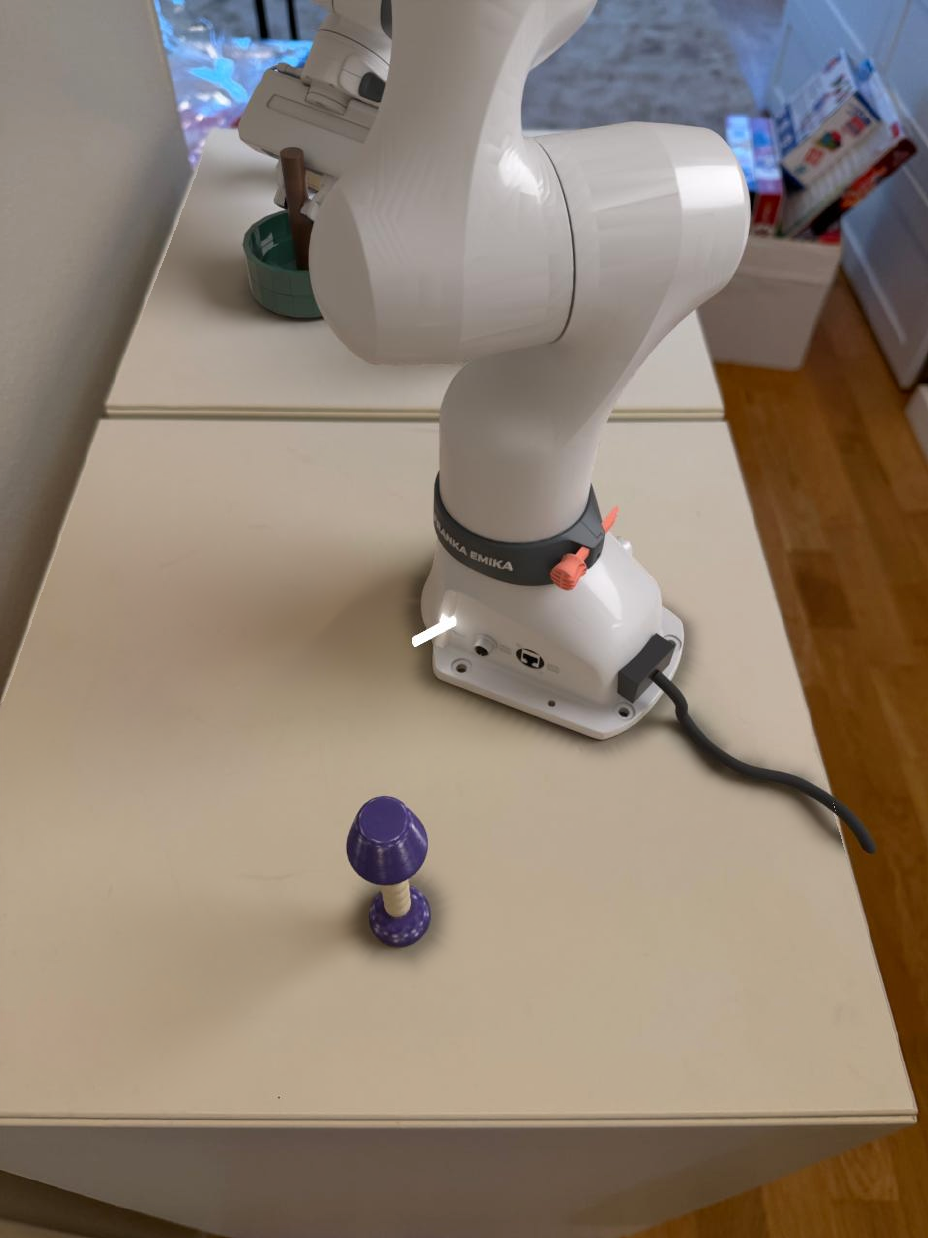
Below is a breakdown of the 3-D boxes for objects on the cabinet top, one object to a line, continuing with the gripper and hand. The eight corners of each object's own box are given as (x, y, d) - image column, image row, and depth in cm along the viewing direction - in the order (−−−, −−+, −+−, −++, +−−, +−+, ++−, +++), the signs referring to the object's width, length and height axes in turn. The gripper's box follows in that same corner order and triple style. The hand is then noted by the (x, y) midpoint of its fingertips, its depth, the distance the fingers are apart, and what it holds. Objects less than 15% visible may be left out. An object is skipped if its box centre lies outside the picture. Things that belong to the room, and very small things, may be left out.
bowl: (391, 280, 108) (389, 232, 103) (317, 336, 101) (310, 288, 97) (304, 242, 113) (298, 194, 108) (227, 294, 106) (217, 246, 101)
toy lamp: (433, 953, 62) (429, 855, 48) (363, 959, 61) (340, 861, 48) (429, 884, 64) (424, 772, 51) (362, 888, 64) (340, 778, 51)
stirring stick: (322, 273, 106) (308, 151, 95) (308, 283, 105) (292, 160, 94) (306, 266, 107) (290, 144, 96) (292, 276, 106) (274, 153, 94)
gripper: (253, 41, 97) (206, 171, 100) (409, 95, 90) (353, 232, 93) (287, 72, 103) (242, 194, 106) (436, 125, 96) (383, 253, 99)
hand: (295, 213), depth 99 cm, fingers closed on stirring stick, 2 cm apart
